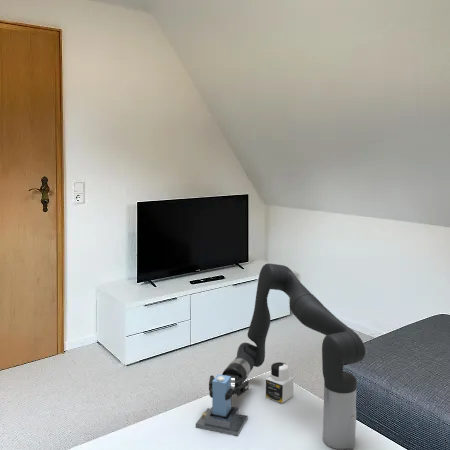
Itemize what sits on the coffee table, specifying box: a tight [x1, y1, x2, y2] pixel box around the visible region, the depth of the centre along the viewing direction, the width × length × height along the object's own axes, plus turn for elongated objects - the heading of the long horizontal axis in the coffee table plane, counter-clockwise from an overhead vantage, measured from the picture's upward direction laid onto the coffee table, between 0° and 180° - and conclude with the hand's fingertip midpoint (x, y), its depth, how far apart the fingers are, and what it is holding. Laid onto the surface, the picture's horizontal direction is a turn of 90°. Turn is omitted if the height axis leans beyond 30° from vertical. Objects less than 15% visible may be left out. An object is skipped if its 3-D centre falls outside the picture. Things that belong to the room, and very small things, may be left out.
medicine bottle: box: [265, 361, 294, 404], centre depth 168 cm, size 7×7×12 cm
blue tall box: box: [211, 373, 232, 417], centre depth 151 cm, size 4×5×12 cm
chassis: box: [195, 405, 249, 437], centre depth 152 cm, size 14×10×4 cm
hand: (218, 396), depth 148 cm, fingers closed on blue tall box, 4 cm apart
